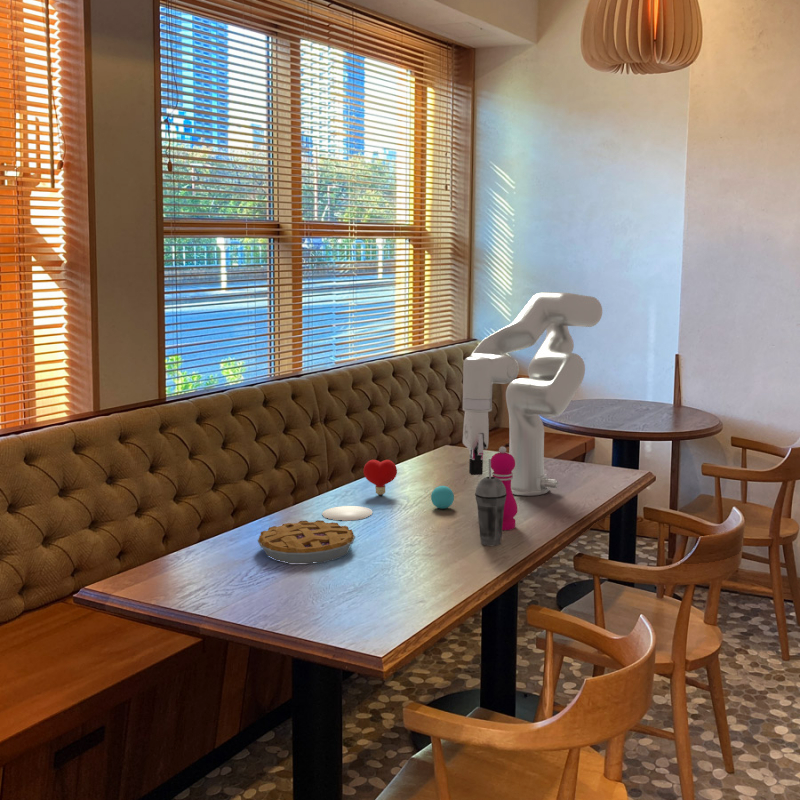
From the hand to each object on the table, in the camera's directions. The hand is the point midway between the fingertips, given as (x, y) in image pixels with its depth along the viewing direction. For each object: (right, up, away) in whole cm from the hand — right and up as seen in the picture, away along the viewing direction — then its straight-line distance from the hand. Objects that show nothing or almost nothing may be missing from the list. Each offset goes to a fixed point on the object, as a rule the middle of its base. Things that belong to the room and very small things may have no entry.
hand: (475, 474), depth 242 cm
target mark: (-33, -10, -3) cm, 35 cm away
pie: (-41, -15, -32) cm, 54 cm away
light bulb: (-25, -7, +15) cm, 30 cm away
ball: (-9, -6, 0) cm, 11 cm away
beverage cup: (+1, -14, -28) cm, 32 cm away
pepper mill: (+5, -12, -16) cm, 20 cm away
